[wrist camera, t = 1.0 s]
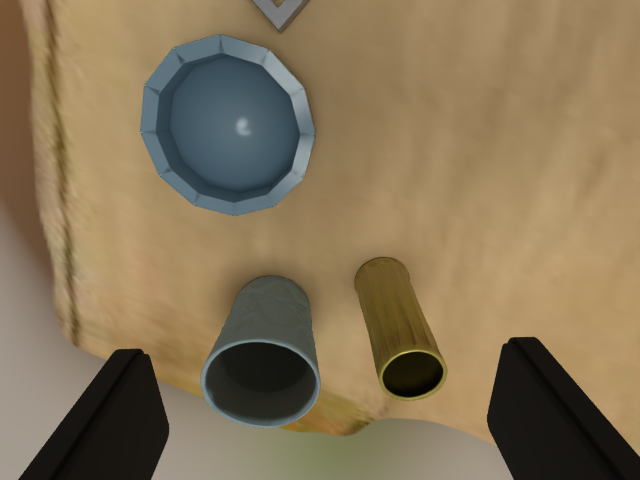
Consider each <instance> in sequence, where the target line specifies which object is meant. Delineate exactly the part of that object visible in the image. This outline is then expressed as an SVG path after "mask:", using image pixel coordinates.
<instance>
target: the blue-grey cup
mask: <svg viewBox="0 0 640 480" xmlns="http://www.w3.org/2000/svg"><path fill="white" fill-rule="evenodd" d="M200 384H201V390H202V393H203V395H204V398H205V399H206V401H207V402H208V404H209V405H210V406H211V407H212V408H213V410H214V411H216V412H217V413H218V414H219V415H221V416H222V417H224V418H226V419H228V420H230V421H231V422H233V423H237V424H240V425H245V426H251V427H258V428H273V427H278V426H282V425H287V424H289V423H291V422H294V421H296V420H298V419H299V418H301V417H302V416H304V415H305V414H306V413H307V412H308V411H309V410H310V409H311V408H312V407H313V405H314V403H315V402H316V400H317V398H318V395H319V392H320V387H321V384H320V375H319V368H318V362H317V356H316V349H315V342H314V338H313V331H312V320H311V312H310V305H309V300H308V298H307V296H306V294H305V292H304V291H303V290H302V289H301V288H300V286H298V285H297V284H296V283H294V282H293V281H291V280H288V279H286V278H283V277H279V276H266V277H260V278H258V279H254V280H253V281H251V282H250V283H248V284H247V285H246V286H245V287H244V288H243V289H242V290H241V291H240V293H239V294H238V296H237V298H236V301H235V303H234V305H233V307H232V310H231V313H230V314H229V316H228V318H227V320H226V322H225V324H224V326H223V328H222V331H221V333H220V335H219V337H218V339H217V341H216V343H215V345H214V347H213V349H212V351H211V353H210V355H209V357H208V358H207V360H206V362H205V364H204V366H203V369H202V373H201V377H200Z"/></svg>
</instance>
